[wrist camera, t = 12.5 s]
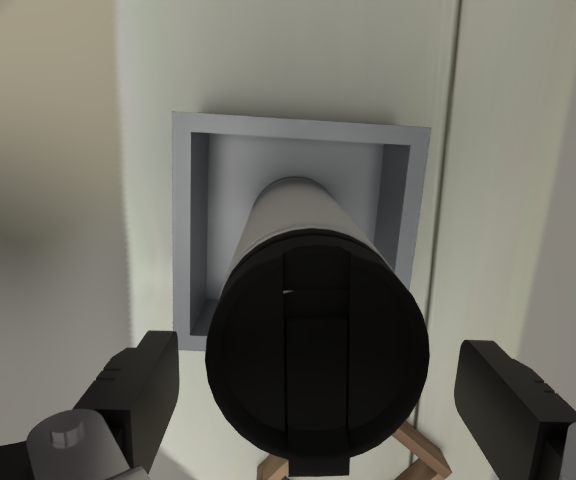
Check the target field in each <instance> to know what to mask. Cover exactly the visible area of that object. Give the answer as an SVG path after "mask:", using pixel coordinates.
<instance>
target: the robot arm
mask: <svg viewBox="0 0 576 480" xmlns="http://www.w3.org/2000/svg"><path fill="white" fill-rule="evenodd" d="M178 393H179V355H178V336H177V332H176V331H151V330H150V331H148V332H147V333H146V334H145V336H144V337H143V339H142V340H141V342H140V343H139V345H138V346H137V348H126V349H124V350H123V351H121V352H120V353H118V354H116V355H115V356H113V357H112V358H111V359H110V361H109V362H108V363H107V364H106V366H105V367H104V370H103V371H101V372H100V374H99V375H98V376H97V378H96V380H95V381H94V382H93V383H92V384H91V386H90V387H89V388H88V389H87V391H86V392H85V393H84V395H83V396H82V397H81V398H80V400H79V401H78V402H77V404H76V405H75V406H74V408H73V409H72V410H67V411H63V412H60V413H57V414H54V415H52V416H50V417H48V418H46V419H44V420H43V421H41V422H40V423H39V424H37V425H36V426H35V427H34V428H33V429H32V430H31V431H30V433H29V434H28V436H27V440H26V441H23V442H19V443H14V444H8V445H4V446H0V480H150V478H149V477H148V474H149V471H150V469H151V466H152V464H153V461H154V459H155V456H156V454H157V451H158V449H159V446H160V444H161V441H162V439H163V436H164V434H165V431H166V429H167V426H168V424H169V421H170V419H171V416H172V414H173V411H174V409H175V406H176V403H177V399H178ZM454 399H455V405H456V408H457V411H458V413H459V415H460V416H461V418H462V420H463V421H464V423H465V425H466V426H467V428H468V429H469V431H470V433H471V434H472V436H473V438H474V439H475V441H476V442H477V444H478V446H479V447H480V449H481V450H482V452H483V454H484V455H485V457H486V459H487V460H488V462H489V463H490V465H491V467H492V468H493V470H494V471H495V473H496V475H497V476H498V478H499V480H576V411H575V410H574V409H573V408H572V407H571V406H570V405H569V404H568V403H567V402H566V401H565V400H563V399H562V398H561V397H560V396H559V395H558V394H557V393H555V392H554V390H553V389H552V388H551V387H550V386H549V385H548V384H547V383H544V380H543V379H542V378H541V377H540V376H538V375H537V374H536V373H535V372H534V371H533V370H532V369H531V368H529V367H527V366H525V365H524V364H522V363H520V362H519V361H517V360H515V359H511V358H510V357H509V356H508V355H507V354H506V353H505V352H504V351H503V350H502V349H501V348H500V347H499V346H498V345H497V344H496V343H495V342H494V341H487V340H464V341H463V343H462V345H461V348H460V354H459V361H458V368H457V375H456V381H455V388H454Z"/></svg>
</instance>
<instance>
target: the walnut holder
mask: <svg viewBox="0 0 576 480" xmlns="http://www.w3.org/2000/svg"><path fill="white" fill-rule="evenodd" d="M392 436H393V437H394V438H396V439H397V440H398V441H399V442H400V443H402V444H403V445H404V446H405V447H407V448H408V449H409V450H410V451H411V452H413V453H414V454H415V455H416V456H417V457H419V459H418V460H417V461H416V462H415V463H413V464H412V465H411V466H410V467H409V468H408V469H407V470H405V471H404V472H403V473H402V474H401V475H400V476H399V477H397V478H396V479H395V480H444V479H446V478H447V477H448V476H449V475H450V474H451V473H452V471H451V469H450V467H449V465H448V463H447V461H446V459H445V457H444V456H443V454H442V452H441V450H440V449H439V448H437V447H436V446H435V445H434V444H433V443H432V442H430V441H429V440H428V439H427V438H426V437H424V436H423V435H422V434H421V433H420V432H418V431H417V430H416V429H415V428H414V427H412V426H411V425H410V424H409V423H408V422H406V421H405V422H404V423H403V424H402V425H401V426H400V427H399V428H398V430H397V431H396V432H395V433H394V434H392ZM287 473H289V469H288V460H287V459H284V458H280V457H277V456H274V455H272V454H270V455H269V456H268V457H267V458H266V459H265V460H264V461H263V462H262V463H261V464H260V465H259V466H258V468H257V480H289V479H287V478H286V477H285V475H286V474H287Z"/></svg>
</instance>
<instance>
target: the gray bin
mask: <svg viewBox="0 0 576 480" xmlns="http://www.w3.org/2000/svg"><path fill="white" fill-rule="evenodd" d="M430 133H431V128H428V127H412V126H396V125H380V124H365V123H349V122H333V121H317V120H301V119H285V118H269V117H253V116H237V115H221V114H205V113H189V112H174V111H172V200H173V331H176V332H177V336H178V350H188V351H206V339H207V335H208V331H209V328H210V324H211V320H212V317H213V314H214V312H215V309H216V306H217V304H218V300H219V296H220V293H221V289H222V285H223V283H224V280H225V278H226V275H227V272H228V270H229V267H230V264H231V262H232V259H233V256H234V254H235V251H236V249H237V246H238V243H239V241H240V238H241V236H242V233H243V230H244V228H245V225H246V223H247V220H248V217H249V215H250V212H251V209H252V207H253V204H254V202H255V200H256V198H257V197H258V195H259V194H260V193H261V192H262V190H263V189H264V188H266V187H267V186H268V185H269V184H271V183H273V182H274V181H276V180H279V179H282V178H285V177H293V176H297V177H305V178H308V179H312V180H314V181H316V182H317V183H319V184H321V185H322V186H323V187H324V188H326V189H327V190H328V192H329V193H330V194H331V195H332V196H333V198H334V199H335V200H336V201H337V202H338V204H339V205H340V206H341V207H342V208H343V210H344V211H345V212H346V213H347V214H348V215H349V217H350V218H351V219H352V220H353V221H354V223H355V224H356V225H357V226H358V227H359V229H360V230H361V231H362V232H363V233H364V235H365V236H366V237H367V238H368V239H369V241H370V242H371V243H372V244H373V245H374V246H375V248H376V249H377V250H378V251H379V252H380V254H381V255H382V256H383V257H384V259H385V260H386V261H387V262H388V263H389V265H390V266H391V267H392V269H393V271H394V273H395V275H396V276H397V277H398V278H399V280H400V281H401V282H402V283H403V284H404V286H405V287H406V288H407V289H408V291H409V288H410V281H411V274H412V266H413V259H414V251H415V244H416V236H417V229H418V222H419V214H420V207H421V199H422V192H423V185H424V177H425V170H426V162H427V155H428V147H429V140H430Z"/></svg>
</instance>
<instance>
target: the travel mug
mask: <svg viewBox="0 0 576 480" xmlns="http://www.w3.org/2000/svg"><path fill="white" fill-rule="evenodd" d="M429 358H430V353H429V339H428V333H427V329H426V325H425V322H424V318H423V315H422V313H421V311H420V309H419V307H418V305H417V303H416V301H415V299H414V297H413V295H412V294H411V293H410V292H409V291H408V289H407V288H406V287H405V286H404V284H403V283H402V282H401V281H400V280H399V278H398V277H397V276H396V275H395V273H394V271H393V269H392V267H391V266H390V265H389V263H388V262H387V261H386V260H385V259H384V257H383V256H382V255H381V254H380V252H379V251H378V250H377V249H376V248H375V246H374V245H373V244H372V243H371V242H370V241H369V239H368V238H367V237H366V236H365V235H364V233H363V232H362V231H361V230H360V229H359V227H358V226H357V225H356V224H355V223H354V221H353V220H352V219H351V218H350V217H349V215H348V214H347V213H346V212H345V211H344V210H343V208H342V207H341V206H340V205H339V204H338V202H337V201H336V200H335V199H334V198H333V196H332V195H331V194H330V193H329V192H328V190H327V189H326V188H324V187H323V186H322V185H321V184H319V183H317V182H316V181H314V180H312V179H308V178H305V177H297V176H293V177H285V178H282V179H279V180H276V181H274V182H273V183H271V184H269V185H268V186H267V187H266V188H264V189H263V190H262V192H261V193H260V194H259V195H258V197H257V198H256V200H255V202H254V204H253V207H252V209H251V212H250V215H249V217H248V220H247V223H246V225H245V228H244V230H243V233H242V236H241V238H240V241H239V243H238V246H237V249H236V251H235V254H234V256H233V259H232V262H231V264H230V267H229V270H228V272H227V275H226V278H225V280H224V283H223V285H222V289H221V293H220V296H219V300H218V304H217V306H216V309H215V312H214V314H213V317H212V320H211V324H210V328H209V331H208V335H207V339H206V353H205V364H206V371H207V378H208V383H209V385H210V388H211V391H212V394H213V397H214V399H215V402H216V403H217V405H218V407H219V408H220V410H221V412H222V413H223V415H224V417H225V418H226V420H227V421H228V422H229V423H230V424H231V425H232V426H233V427H234V428H235V430H236V431H237V432H238V433H239V434H240V435H241V436H242V437H244V438H245V439H246V440H248V441H249V442H251V443H252V444H253V445H255V446H256V447H257V448H259V449H261V450H263V451H265V452H268V453H270V454H272V455H274V456H277V457H280V458H284V459H287V460H288V469H289V477H321V476H347V475H349V464H350V458H351V457H354V456H357V455H360V454H363V453H365V452H367V451H369V450H371V449H372V448H374V447H376V446H378V445H380V444H381V443H382V442H383V441H385V440H386V439H387V438H388V437H390V436H391V435H392V434H394V433H395V432H396V431H397V430H398V428H399V427H400V426H401V425H402V424H403V423H404V422H405V420H406V419H407V418H408V417H409V416H410V414H411V412H412V410H413V409H414V407H415V405H416V403H417V402H418V400H419V398H420V396H421V393H422V390H423V387H424V384H425V381H426V378H427V373H428V365H429Z"/></svg>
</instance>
